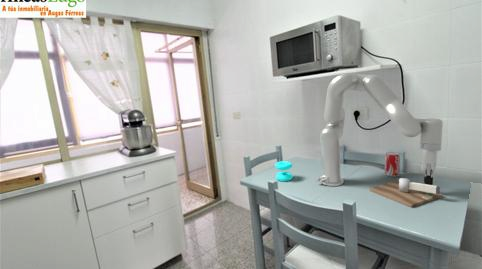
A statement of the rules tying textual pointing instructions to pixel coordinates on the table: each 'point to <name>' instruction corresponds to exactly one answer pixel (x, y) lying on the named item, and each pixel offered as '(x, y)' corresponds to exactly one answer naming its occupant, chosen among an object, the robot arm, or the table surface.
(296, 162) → the table surface
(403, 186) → the white elongated piece
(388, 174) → the soda can
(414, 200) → the brown wooden cutting board
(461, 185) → the table surface
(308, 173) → the table surface
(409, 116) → the robot arm
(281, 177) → the donuts
